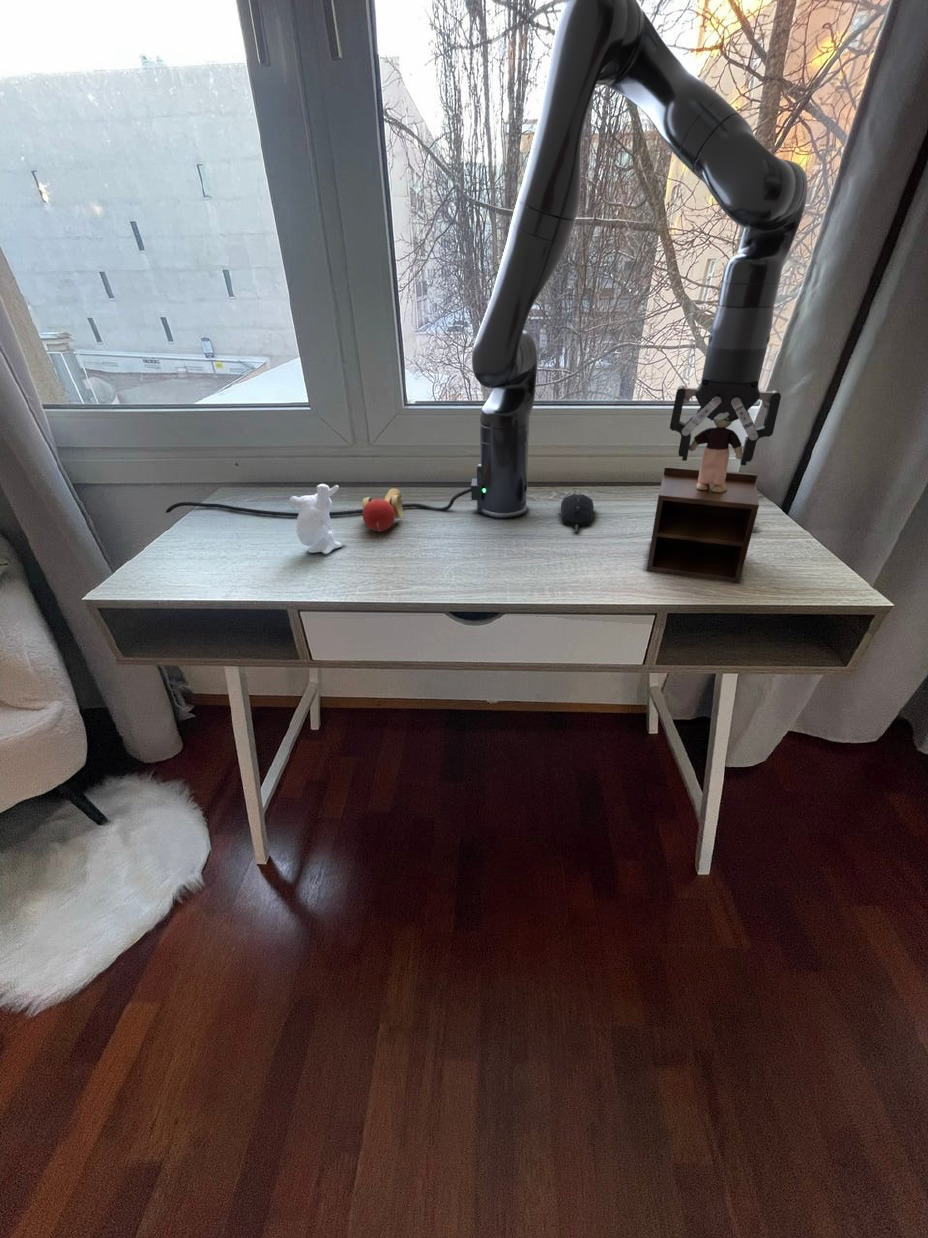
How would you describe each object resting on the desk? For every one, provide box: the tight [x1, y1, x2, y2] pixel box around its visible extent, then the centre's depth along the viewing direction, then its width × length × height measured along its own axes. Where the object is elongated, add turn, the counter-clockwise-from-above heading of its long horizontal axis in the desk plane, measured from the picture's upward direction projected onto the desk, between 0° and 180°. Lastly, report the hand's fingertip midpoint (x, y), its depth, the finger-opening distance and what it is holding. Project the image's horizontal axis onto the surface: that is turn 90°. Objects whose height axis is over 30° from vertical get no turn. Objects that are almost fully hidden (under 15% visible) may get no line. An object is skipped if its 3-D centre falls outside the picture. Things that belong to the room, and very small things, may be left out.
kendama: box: [362, 487, 404, 533], centre depth 116 cm, size 8×6×18 cm
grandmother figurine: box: [689, 412, 743, 492], centre depth 88 cm, size 8×4×13 cm, turn 70°
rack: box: [646, 465, 760, 584], centre depth 95 cm, size 14×11×14 cm
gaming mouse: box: [560, 493, 594, 534], centre depth 114 cm, size 6×15×4 cm, turn 170°
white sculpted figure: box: [289, 483, 343, 555], centre depth 102 cm, size 8×7×12 cm
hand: (713, 461), depth 89 cm, fingers closed on grandmother figurine, 8 cm apart
